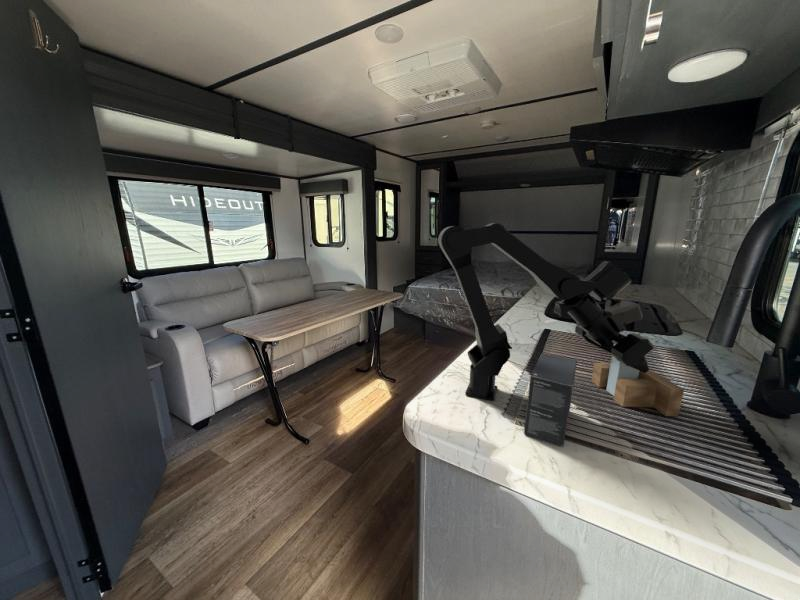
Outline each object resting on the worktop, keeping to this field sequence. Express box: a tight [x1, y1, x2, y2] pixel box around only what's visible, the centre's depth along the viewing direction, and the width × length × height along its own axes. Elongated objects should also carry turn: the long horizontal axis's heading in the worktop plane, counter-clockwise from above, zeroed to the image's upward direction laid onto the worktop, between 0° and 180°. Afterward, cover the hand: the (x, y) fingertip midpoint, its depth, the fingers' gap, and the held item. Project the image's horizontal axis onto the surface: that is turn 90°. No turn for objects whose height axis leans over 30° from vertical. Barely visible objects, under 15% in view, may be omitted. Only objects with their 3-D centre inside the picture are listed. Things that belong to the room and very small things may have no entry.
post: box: [606, 343, 639, 397], centre depth 71 cm, size 4×3×12 cm, turn 88°
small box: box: [523, 352, 578, 447], centre depth 60 cm, size 13×7×12 cm, turn 148°
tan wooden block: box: [591, 362, 685, 417], centre depth 72 cm, size 9×18×6 cm, turn 179°
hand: (631, 362), depth 70 cm, fingers open, 9 cm apart
